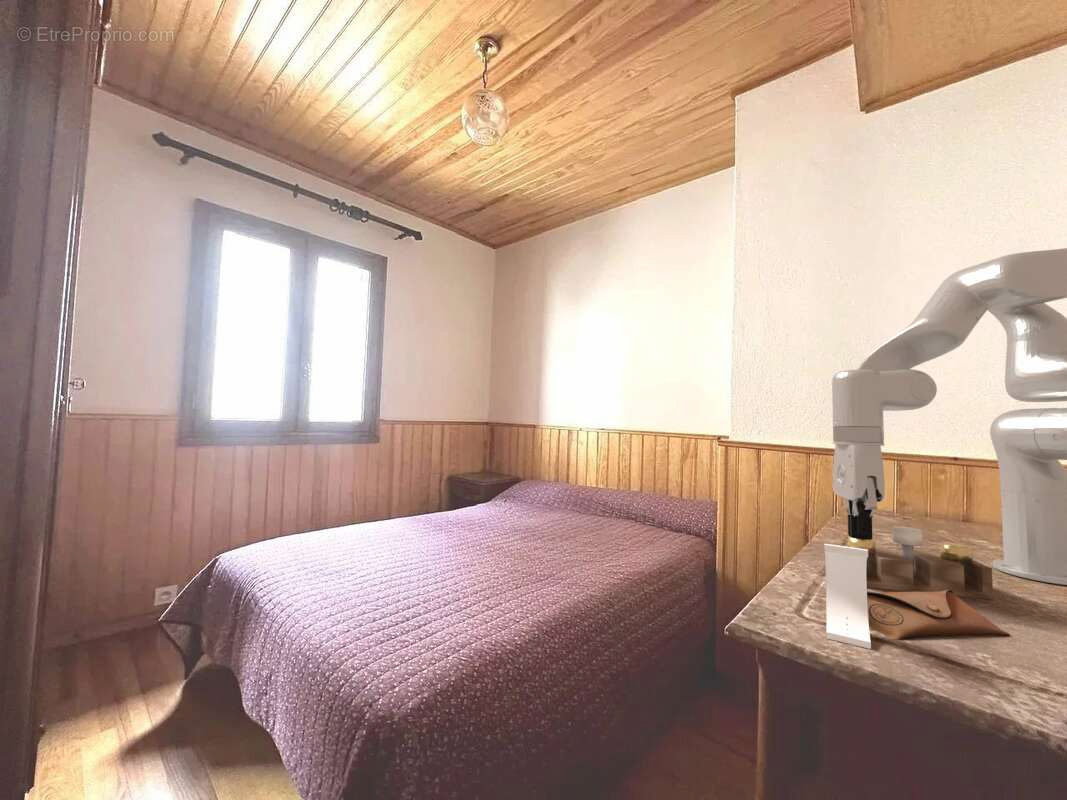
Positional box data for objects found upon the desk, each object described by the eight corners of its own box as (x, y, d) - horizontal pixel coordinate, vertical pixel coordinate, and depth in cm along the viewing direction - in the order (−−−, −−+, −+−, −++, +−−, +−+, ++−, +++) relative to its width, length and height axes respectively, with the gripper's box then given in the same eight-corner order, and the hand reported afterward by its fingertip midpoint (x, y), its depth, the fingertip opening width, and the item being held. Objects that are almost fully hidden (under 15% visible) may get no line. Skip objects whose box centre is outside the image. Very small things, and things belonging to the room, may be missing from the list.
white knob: (915, 563, 78) (914, 527, 78) (928, 570, 74) (927, 532, 74) (889, 560, 79) (887, 525, 79) (900, 567, 75) (899, 530, 75)
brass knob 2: (963, 579, 76) (962, 542, 76) (980, 587, 72) (978, 549, 72) (936, 576, 77) (934, 540, 77) (950, 584, 73) (949, 546, 73)
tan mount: (959, 582, 78) (958, 554, 78) (993, 599, 70) (991, 568, 70) (837, 571, 83) (837, 544, 83) (856, 586, 75) (855, 556, 75)
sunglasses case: (895, 641, 55) (870, 586, 59) (856, 646, 61) (835, 595, 65) (1016, 635, 58) (984, 582, 61) (967, 640, 63) (941, 591, 67)
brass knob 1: (870, 570, 80) (869, 536, 80) (880, 578, 76) (879, 541, 76) (845, 568, 81) (844, 534, 81) (854, 575, 77) (853, 539, 77)
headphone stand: (826, 638, 56) (823, 544, 57) (826, 621, 61) (824, 535, 62) (871, 649, 54) (868, 550, 54) (868, 630, 59) (865, 540, 59)
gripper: (819, 435, 88) (821, 527, 87) (851, 437, 74) (854, 547, 72) (863, 436, 86) (865, 530, 85) (904, 438, 71) (907, 551, 70)
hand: (860, 537), depth 79 cm, fingers closed
